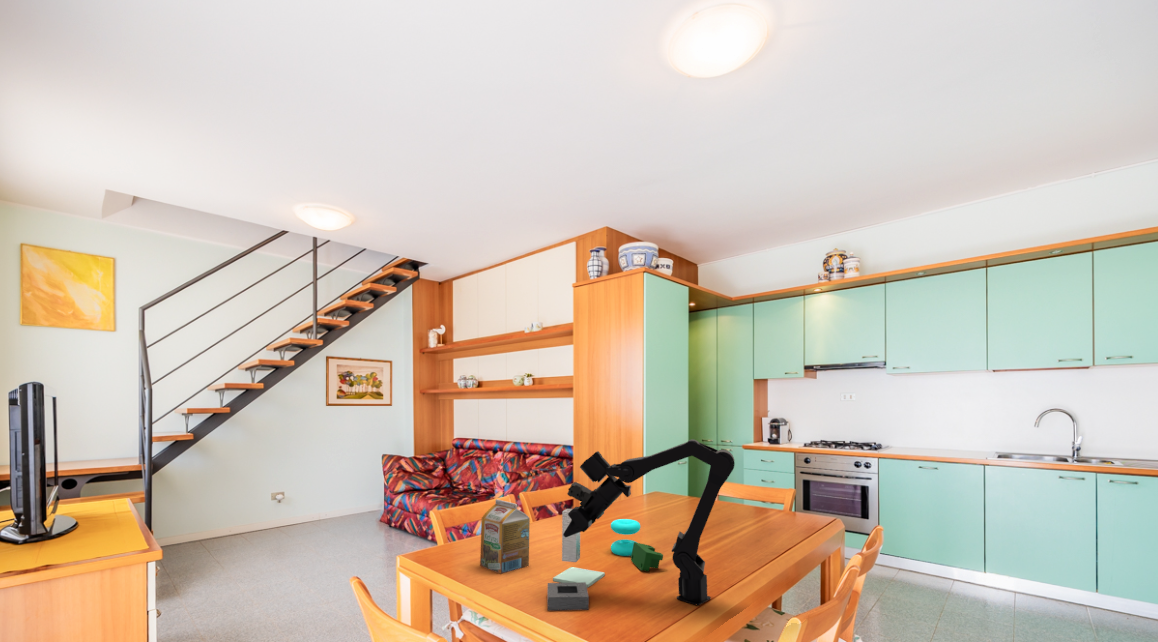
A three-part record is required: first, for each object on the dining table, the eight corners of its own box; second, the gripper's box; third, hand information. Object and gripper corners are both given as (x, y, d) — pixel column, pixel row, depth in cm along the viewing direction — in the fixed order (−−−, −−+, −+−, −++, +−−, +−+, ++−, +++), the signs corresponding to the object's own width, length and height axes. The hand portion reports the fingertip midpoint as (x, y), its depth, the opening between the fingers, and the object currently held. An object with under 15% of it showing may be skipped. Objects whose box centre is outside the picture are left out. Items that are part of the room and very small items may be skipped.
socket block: (585, 594, 138) (585, 582, 138) (588, 609, 128) (588, 596, 128) (547, 595, 137) (547, 583, 138) (547, 610, 127) (547, 597, 128)
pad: (604, 575, 152) (604, 572, 153) (587, 587, 143) (587, 584, 143) (571, 569, 157) (571, 566, 158) (552, 580, 148) (553, 577, 148)
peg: (580, 558, 146) (580, 509, 148) (576, 562, 142) (576, 512, 144) (566, 556, 147) (566, 508, 149) (562, 561, 143) (562, 511, 145)
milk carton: (480, 565, 161) (482, 501, 163) (507, 558, 168) (509, 497, 171) (500, 574, 153) (502, 506, 156) (528, 566, 161) (529, 501, 163)
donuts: (621, 526, 170) (605, 520, 178) (621, 558, 168) (605, 550, 177) (646, 523, 174) (629, 517, 183) (646, 554, 173) (629, 547, 182)
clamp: (655, 585, 157) (666, 560, 155) (637, 581, 156) (647, 556, 154) (646, 558, 169) (656, 534, 167) (629, 554, 168) (638, 530, 166)
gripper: (593, 468, 156) (557, 505, 157) (575, 477, 138) (535, 518, 140) (619, 497, 153) (583, 534, 154) (605, 510, 135) (563, 552, 136)
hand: (566, 534), depth 146 cm, fingers closed on peg, 4 cm apart
